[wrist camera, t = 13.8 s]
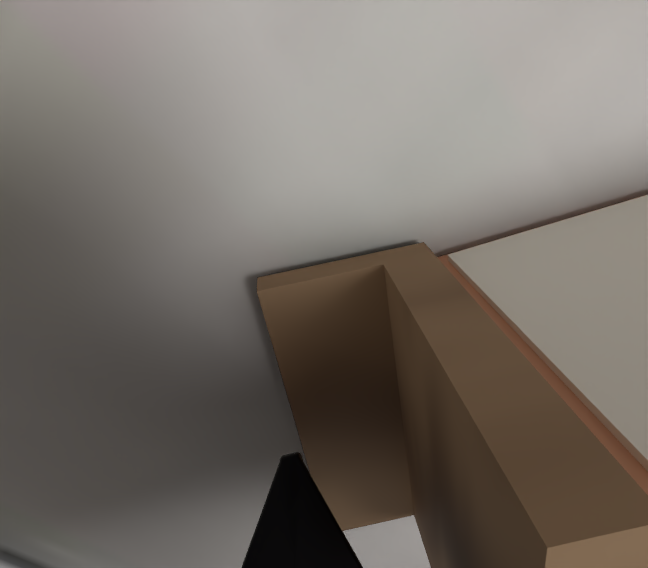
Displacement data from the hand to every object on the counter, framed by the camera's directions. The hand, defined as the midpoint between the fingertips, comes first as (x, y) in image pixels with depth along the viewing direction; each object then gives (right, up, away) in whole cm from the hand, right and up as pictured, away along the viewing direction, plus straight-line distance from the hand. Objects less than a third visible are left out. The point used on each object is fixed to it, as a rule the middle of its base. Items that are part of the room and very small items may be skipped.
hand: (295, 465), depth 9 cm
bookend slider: (+2, +1, +1) cm, 2 cm away
